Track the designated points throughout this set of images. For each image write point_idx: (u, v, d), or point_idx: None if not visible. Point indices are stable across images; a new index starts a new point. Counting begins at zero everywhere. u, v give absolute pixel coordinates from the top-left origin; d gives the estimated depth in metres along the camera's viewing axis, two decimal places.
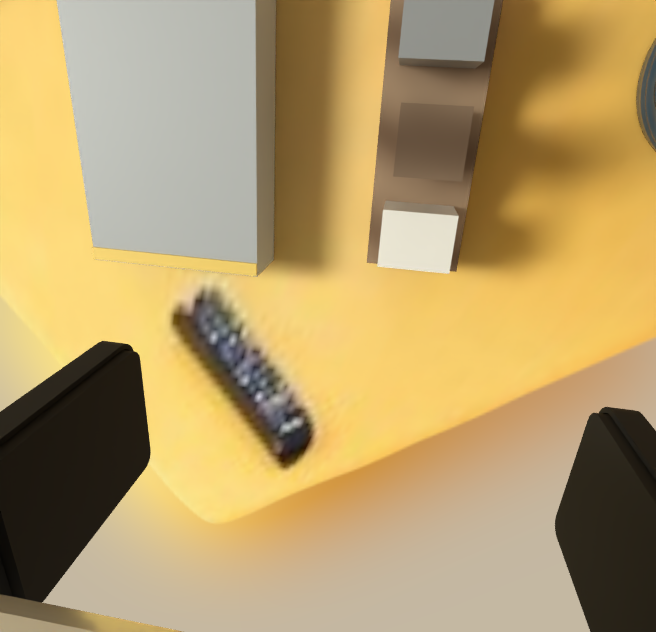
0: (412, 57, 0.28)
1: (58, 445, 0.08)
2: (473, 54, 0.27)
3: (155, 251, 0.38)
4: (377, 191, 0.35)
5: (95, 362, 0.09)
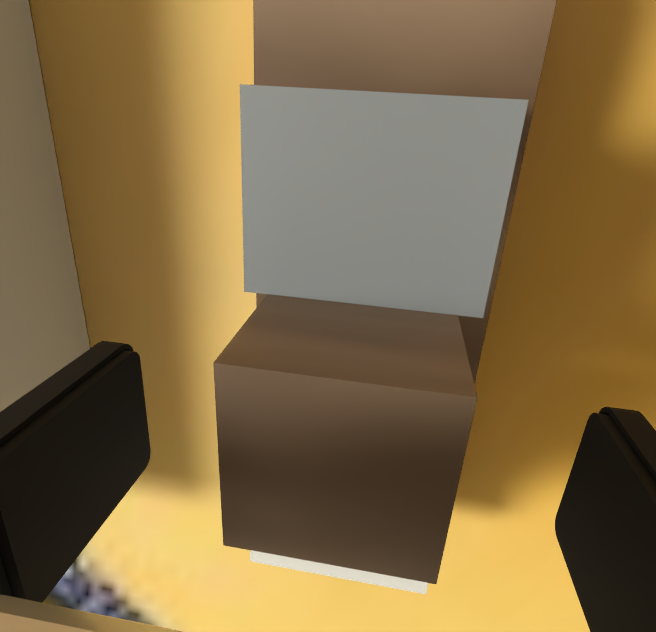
0: (282, 293, 0.10)
1: (58, 445, 0.08)
2: (451, 299, 0.09)
3: None
4: None
5: (95, 362, 0.09)
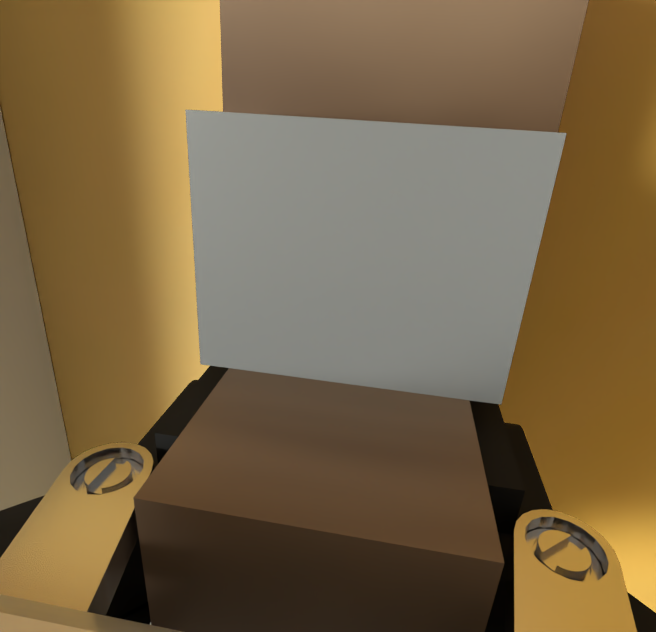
0: (247, 367, 0.08)
1: None
2: (461, 381, 0.07)
3: None
4: None
5: None
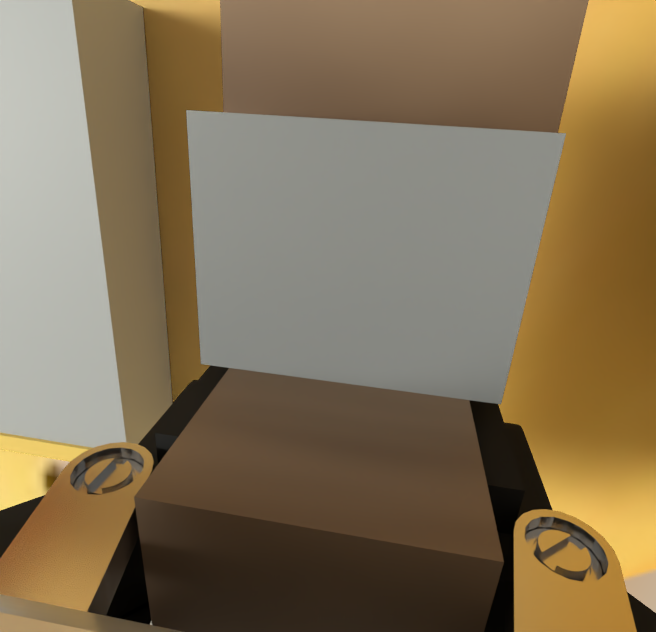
0: (247, 367, 0.08)
1: None
2: (461, 380, 0.07)
3: None
4: None
5: None
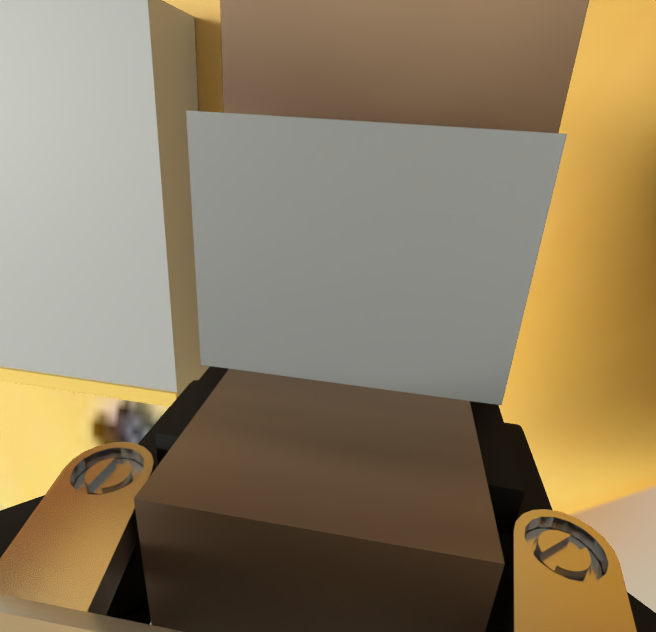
0: (247, 368, 0.08)
1: None
2: (461, 381, 0.07)
3: (52, 372, 0.30)
4: None
5: None
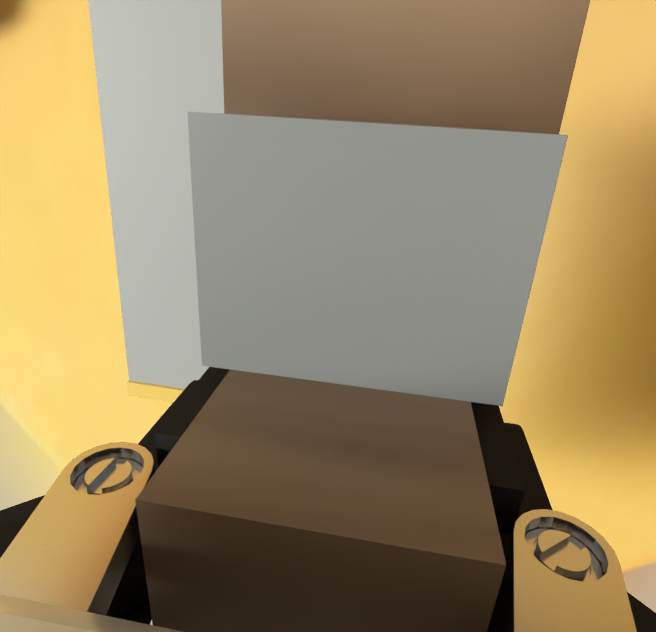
0: (248, 369, 0.08)
1: None
2: (462, 382, 0.07)
3: None
4: None
5: None
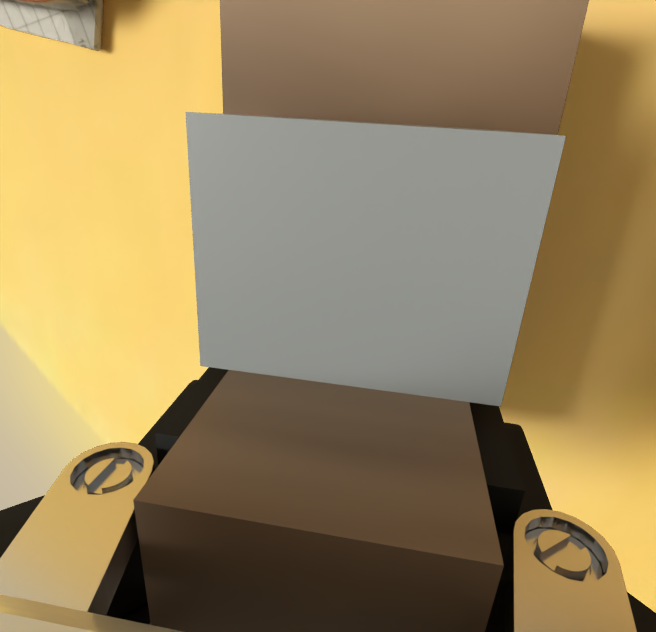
0: (247, 369, 0.08)
1: None
2: (461, 382, 0.07)
3: None
4: None
5: None
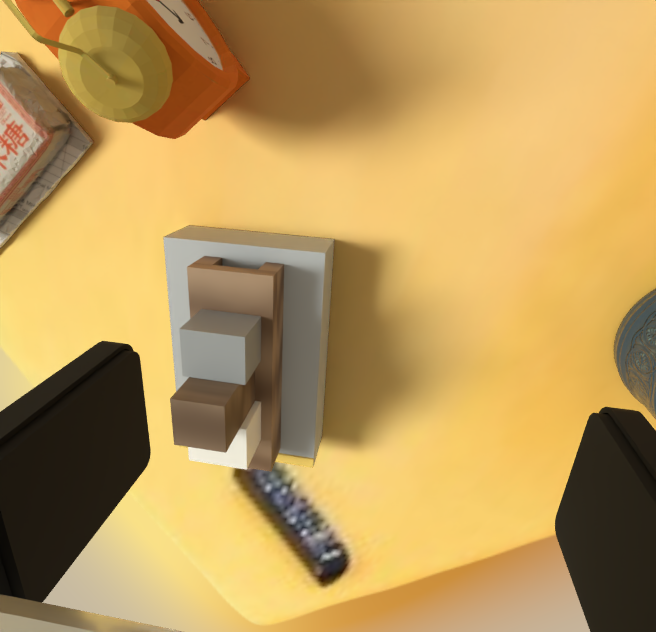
0: (192, 376, 0.35)
1: (58, 445, 0.08)
2: (236, 380, 0.35)
3: None
4: None
5: (95, 362, 0.09)
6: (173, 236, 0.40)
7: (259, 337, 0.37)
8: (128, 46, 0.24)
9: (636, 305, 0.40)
